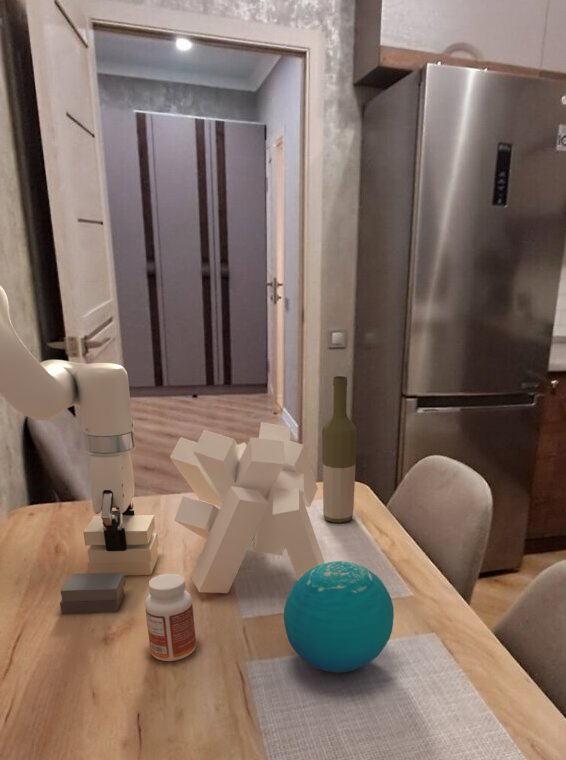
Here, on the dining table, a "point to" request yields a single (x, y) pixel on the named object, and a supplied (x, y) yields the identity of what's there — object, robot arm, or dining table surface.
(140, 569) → the white books
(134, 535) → the cream flat block
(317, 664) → the decorative orb
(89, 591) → the grey books
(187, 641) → the pill bottle
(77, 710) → the dining table surface
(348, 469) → the bottle
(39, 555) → the dining table surface
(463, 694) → the dining table surface
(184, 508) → the pile of blocks
